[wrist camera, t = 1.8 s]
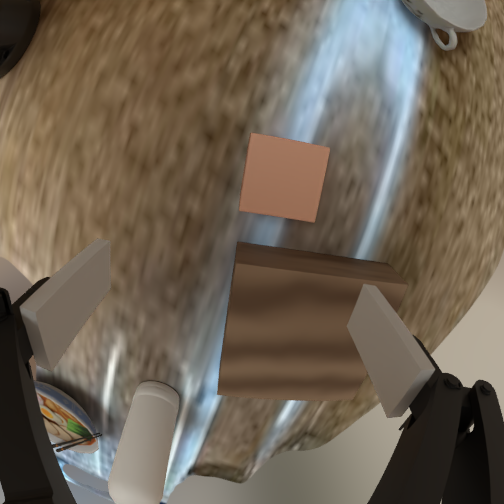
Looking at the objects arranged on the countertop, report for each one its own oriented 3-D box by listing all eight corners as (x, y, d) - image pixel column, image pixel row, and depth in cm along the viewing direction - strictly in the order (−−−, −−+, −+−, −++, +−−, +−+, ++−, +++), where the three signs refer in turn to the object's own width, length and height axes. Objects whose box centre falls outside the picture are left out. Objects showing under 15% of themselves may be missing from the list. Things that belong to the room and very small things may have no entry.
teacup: (370, -43, 20) (393, -70, 12) (444, -16, 20) (474, -32, 12) (384, 44, 25) (417, 27, 18) (460, 68, 26) (498, 62, 18)
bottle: (129, 380, 44) (80, 535, 16) (169, 378, 43) (134, 551, 16) (148, 408, 47) (115, 549, 19) (186, 407, 46) (165, 561, 19)
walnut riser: (237, 241, 35) (236, 263, 29) (387, 263, 36) (408, 285, 31) (219, 365, 42) (217, 394, 37) (342, 373, 44) (352, 399, 38)
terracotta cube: (249, 133, 30) (251, 132, 24) (312, 144, 31) (330, 148, 24) (240, 195, 33) (238, 210, 26) (301, 204, 33) (314, 222, 27)
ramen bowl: (43, 343, 41) (23, 372, 34) (131, 418, 49) (121, 450, 41) (9, 378, 46) (-5, 400, 39) (78, 436, 54) (68, 459, 46)
